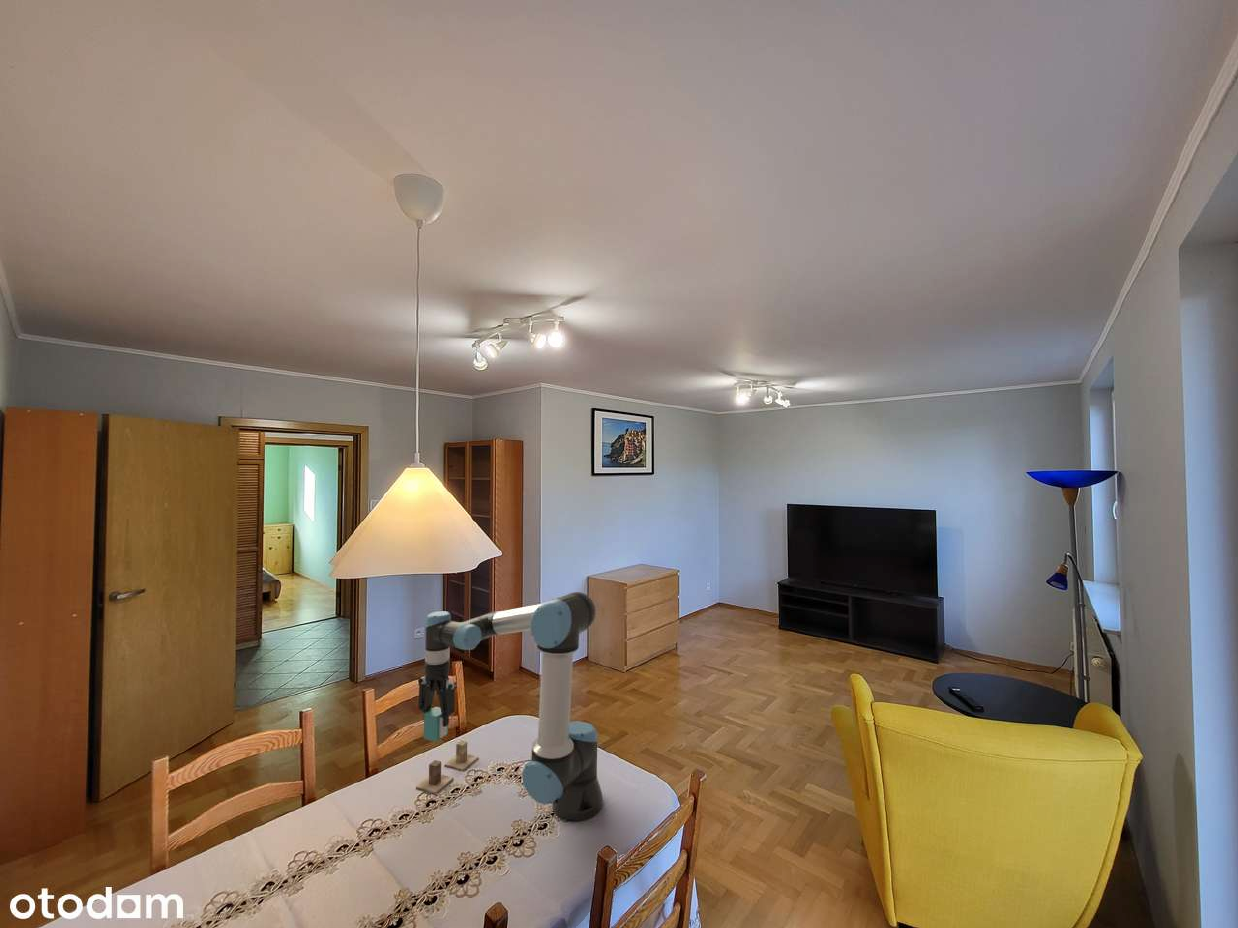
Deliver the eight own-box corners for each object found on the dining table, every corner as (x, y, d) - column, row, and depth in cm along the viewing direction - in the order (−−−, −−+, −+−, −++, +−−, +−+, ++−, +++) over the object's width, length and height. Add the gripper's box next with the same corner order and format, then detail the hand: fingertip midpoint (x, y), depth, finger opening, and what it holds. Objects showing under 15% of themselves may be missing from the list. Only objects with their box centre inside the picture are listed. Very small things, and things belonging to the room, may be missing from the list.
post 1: (453, 779, 157) (453, 758, 157) (435, 794, 149) (436, 772, 149) (433, 774, 159) (434, 753, 160) (415, 788, 152) (416, 766, 152)
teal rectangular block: (447, 733, 156) (448, 709, 157) (436, 741, 152) (437, 716, 152) (435, 730, 158) (435, 706, 159) (423, 738, 153) (424, 713, 154)
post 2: (478, 758, 169) (478, 739, 169) (463, 770, 161) (463, 750, 161) (459, 753, 172) (460, 734, 172) (444, 765, 164) (444, 746, 164)
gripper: (467, 660, 156) (466, 733, 155) (423, 653, 163) (422, 723, 162) (452, 668, 149) (450, 745, 148) (406, 660, 156) (404, 734, 155)
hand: (435, 733), depth 155 cm, fingers closed on teal rectangular block, 5 cm apart
